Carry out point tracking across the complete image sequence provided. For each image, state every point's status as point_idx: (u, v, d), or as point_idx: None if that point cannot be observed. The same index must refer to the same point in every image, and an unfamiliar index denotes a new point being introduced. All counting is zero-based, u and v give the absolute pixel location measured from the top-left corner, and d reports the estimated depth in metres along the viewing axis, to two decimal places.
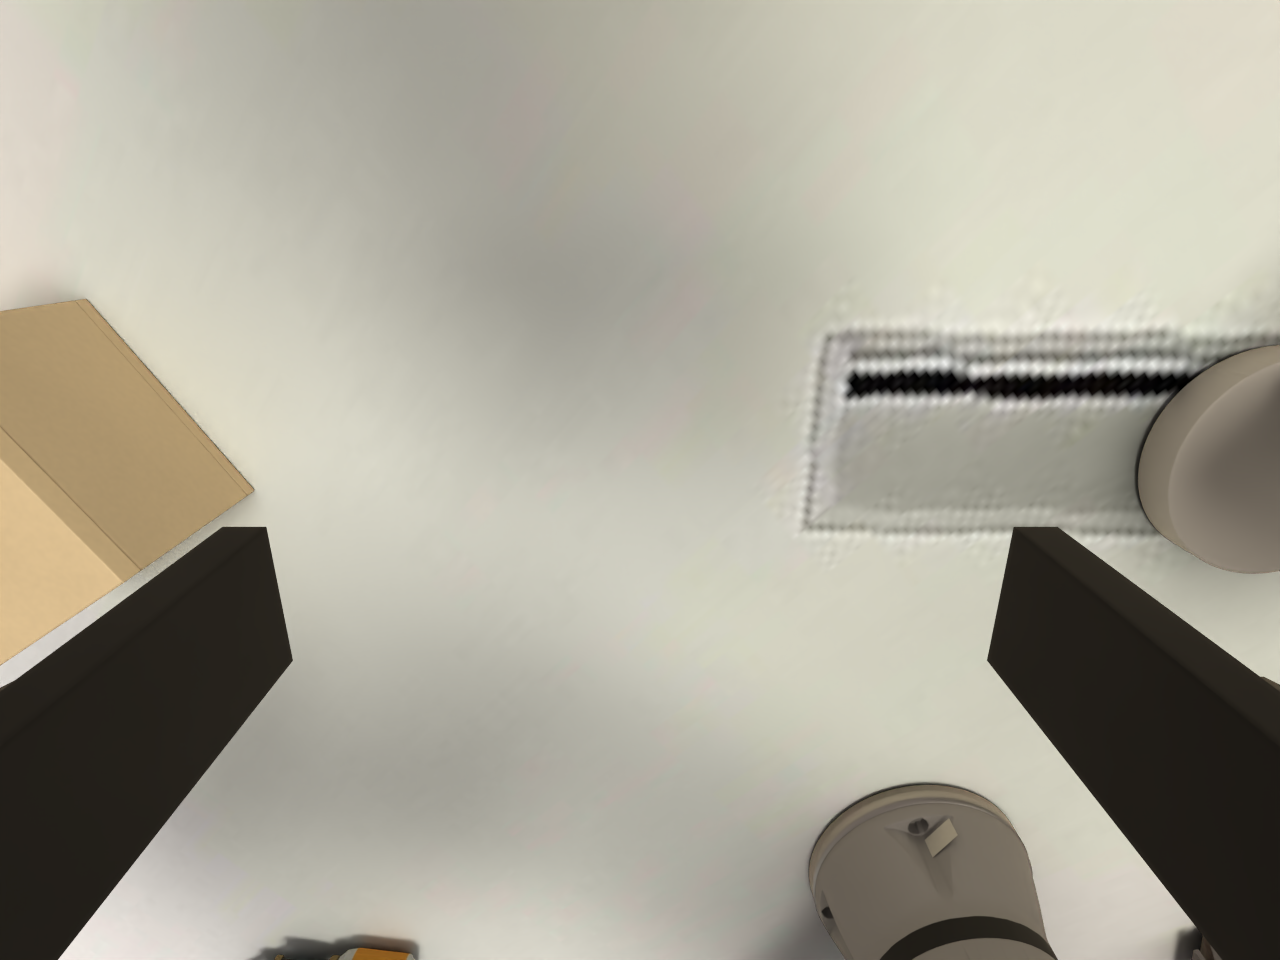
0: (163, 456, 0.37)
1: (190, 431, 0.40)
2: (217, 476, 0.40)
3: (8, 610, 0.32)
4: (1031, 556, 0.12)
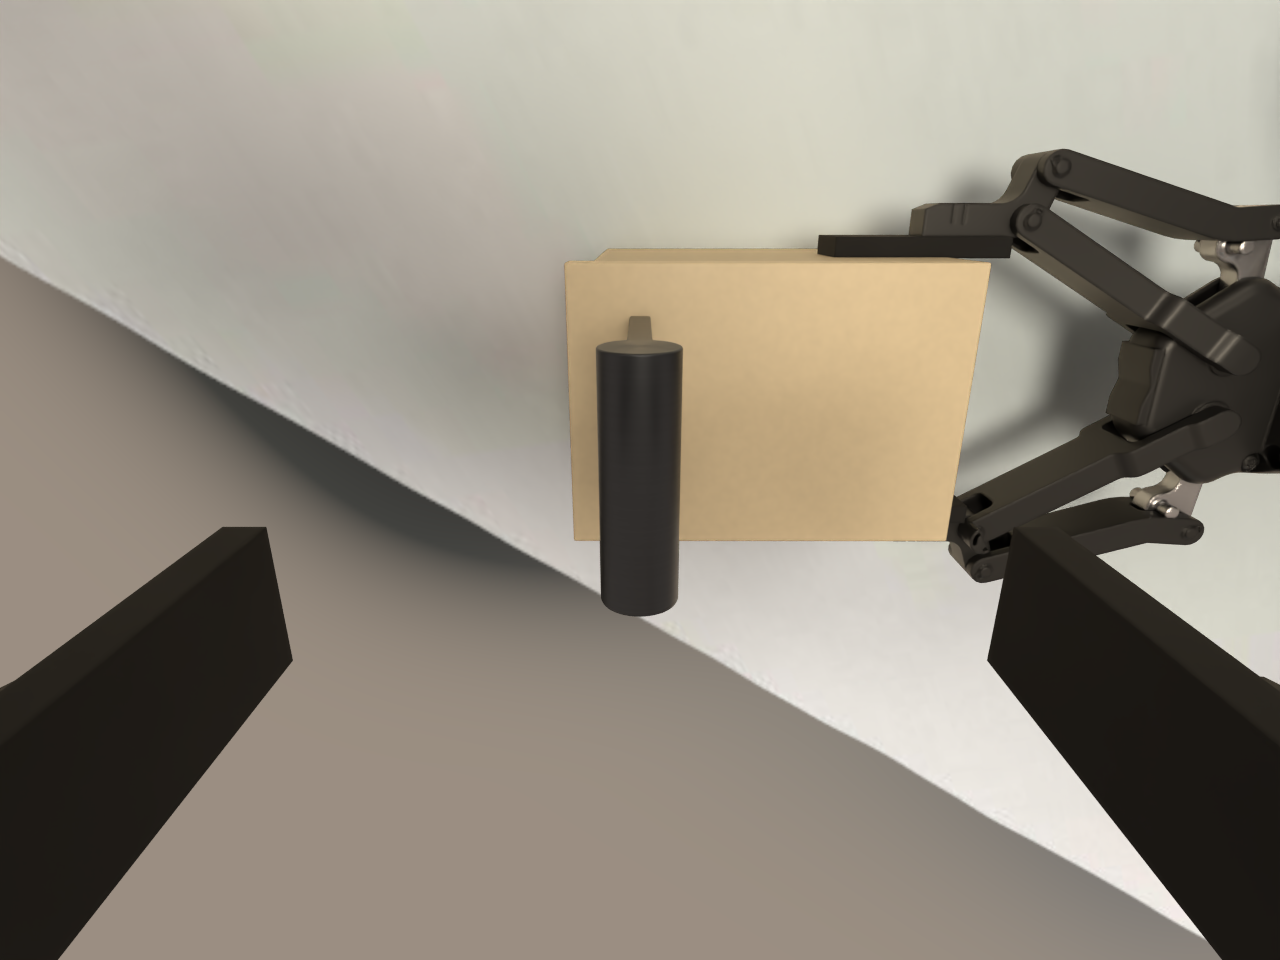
0: (816, 252, 0.30)
1: (788, 249, 0.33)
2: None
3: (915, 422, 0.25)
4: (1031, 556, 0.12)
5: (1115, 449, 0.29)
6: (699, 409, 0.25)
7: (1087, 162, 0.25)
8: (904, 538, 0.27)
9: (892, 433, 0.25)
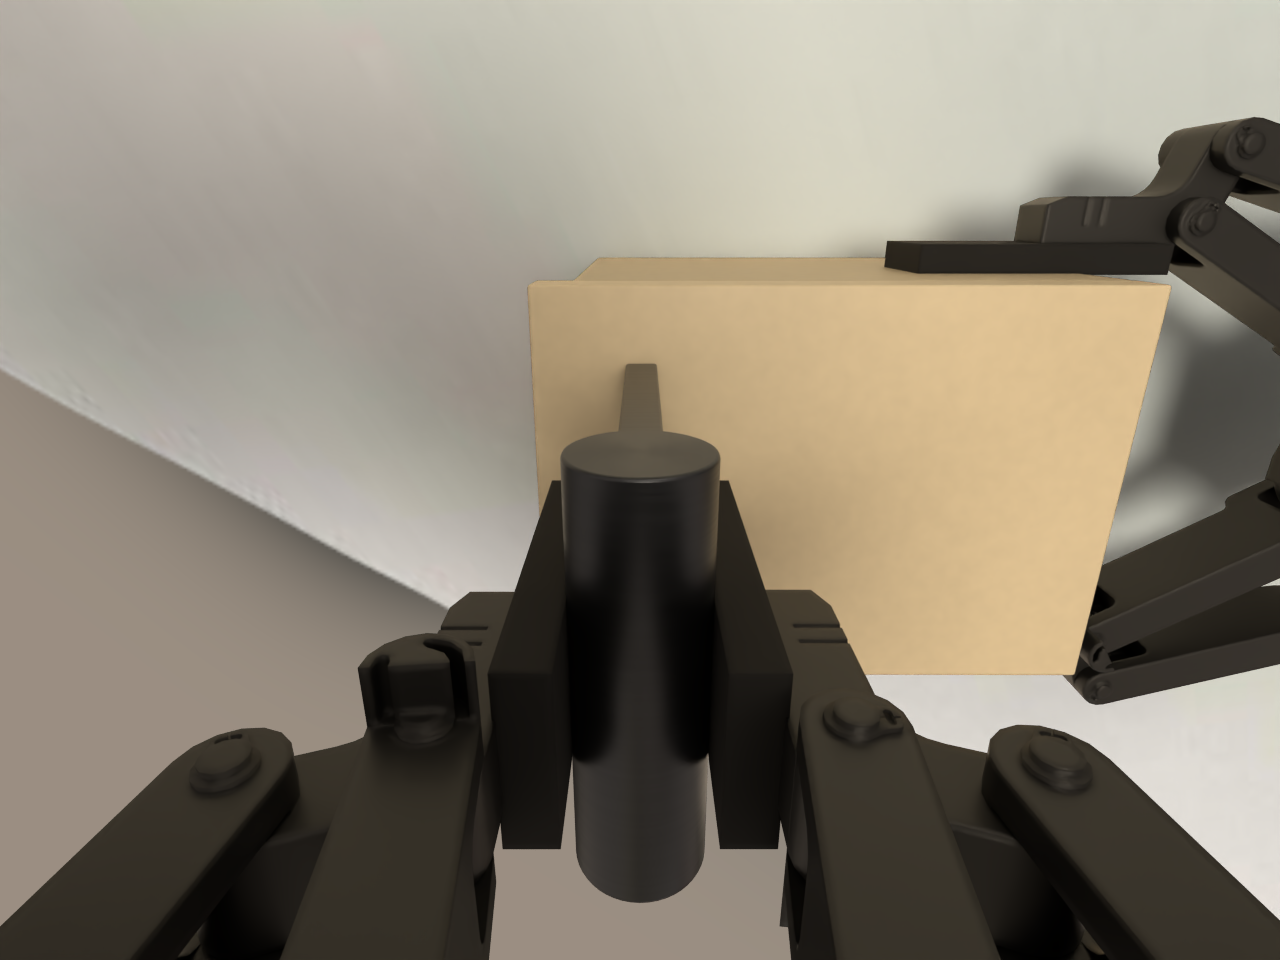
0: (878, 264, 0.22)
1: None
2: None
3: (1042, 515, 0.17)
4: None
5: None
6: None
7: None
8: (1016, 671, 0.19)
9: (1007, 530, 0.17)
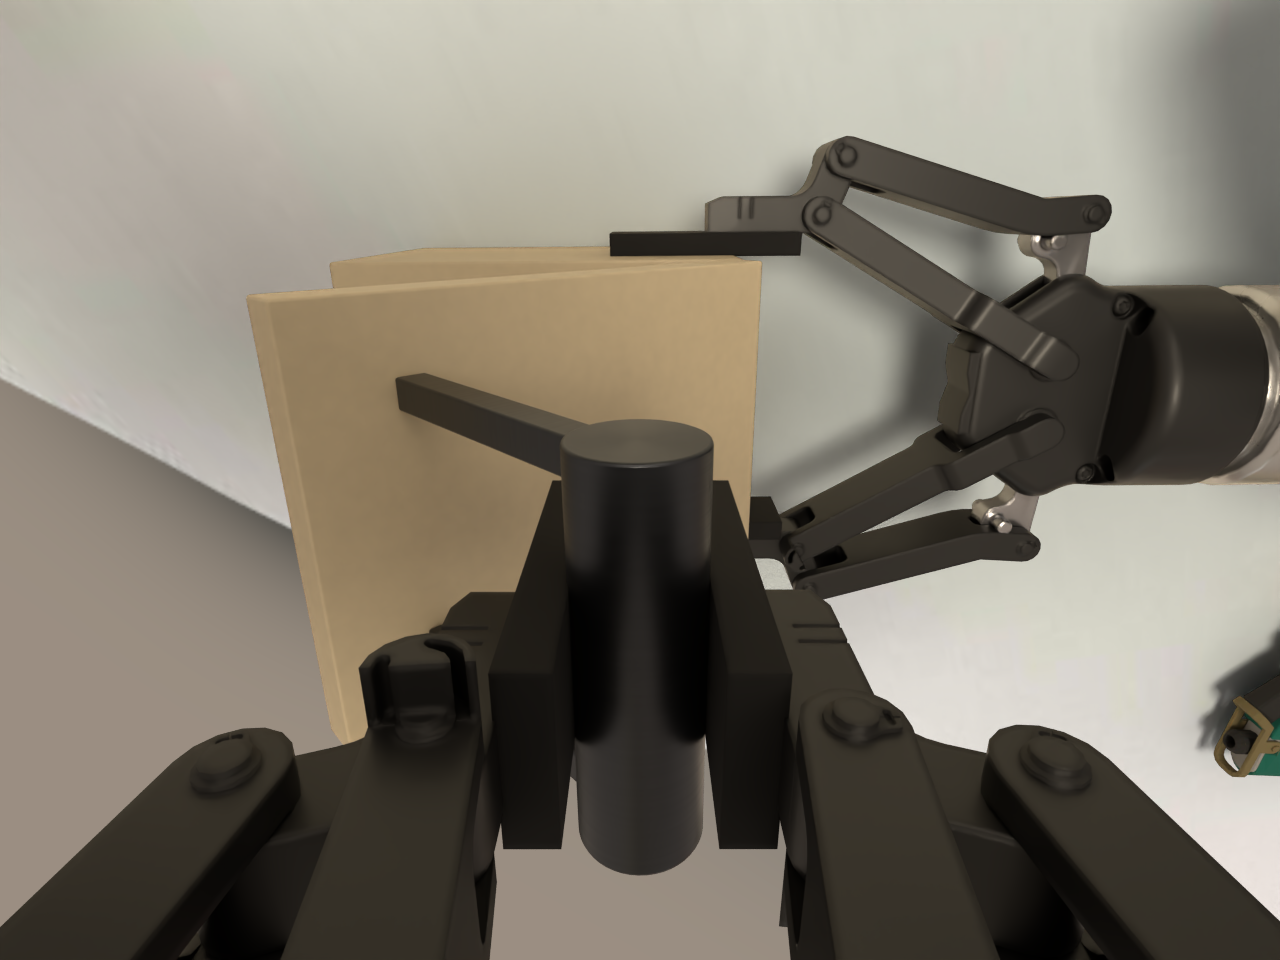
0: None
1: None
2: None
3: (718, 445, 0.22)
4: None
5: (938, 460, 0.27)
6: (507, 494, 0.17)
7: (875, 150, 0.23)
8: None
9: None
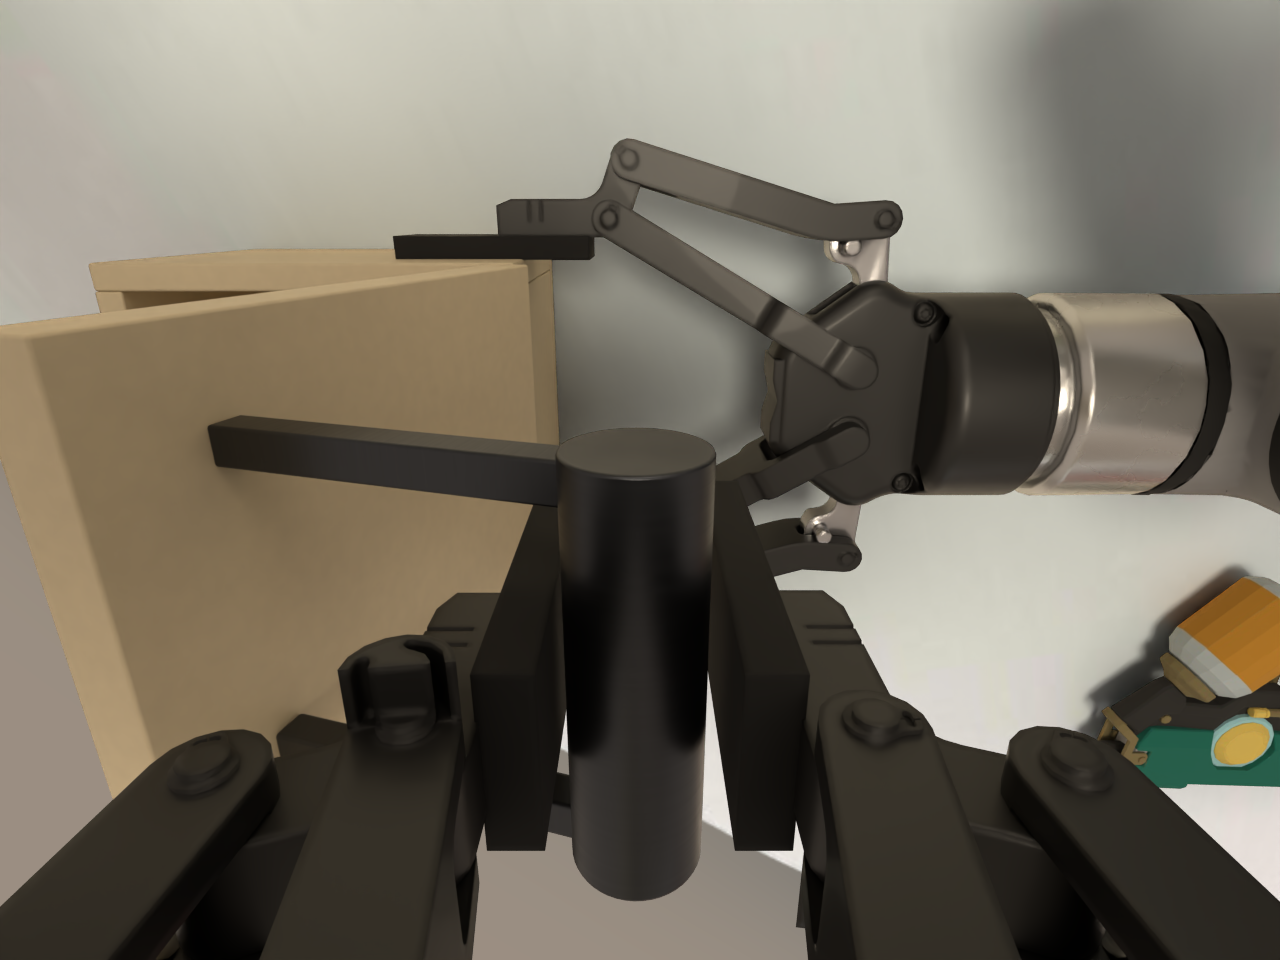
0: None
1: None
2: None
3: None
4: None
5: (751, 468, 0.27)
6: (340, 547, 0.14)
7: (657, 153, 0.23)
8: None
9: None
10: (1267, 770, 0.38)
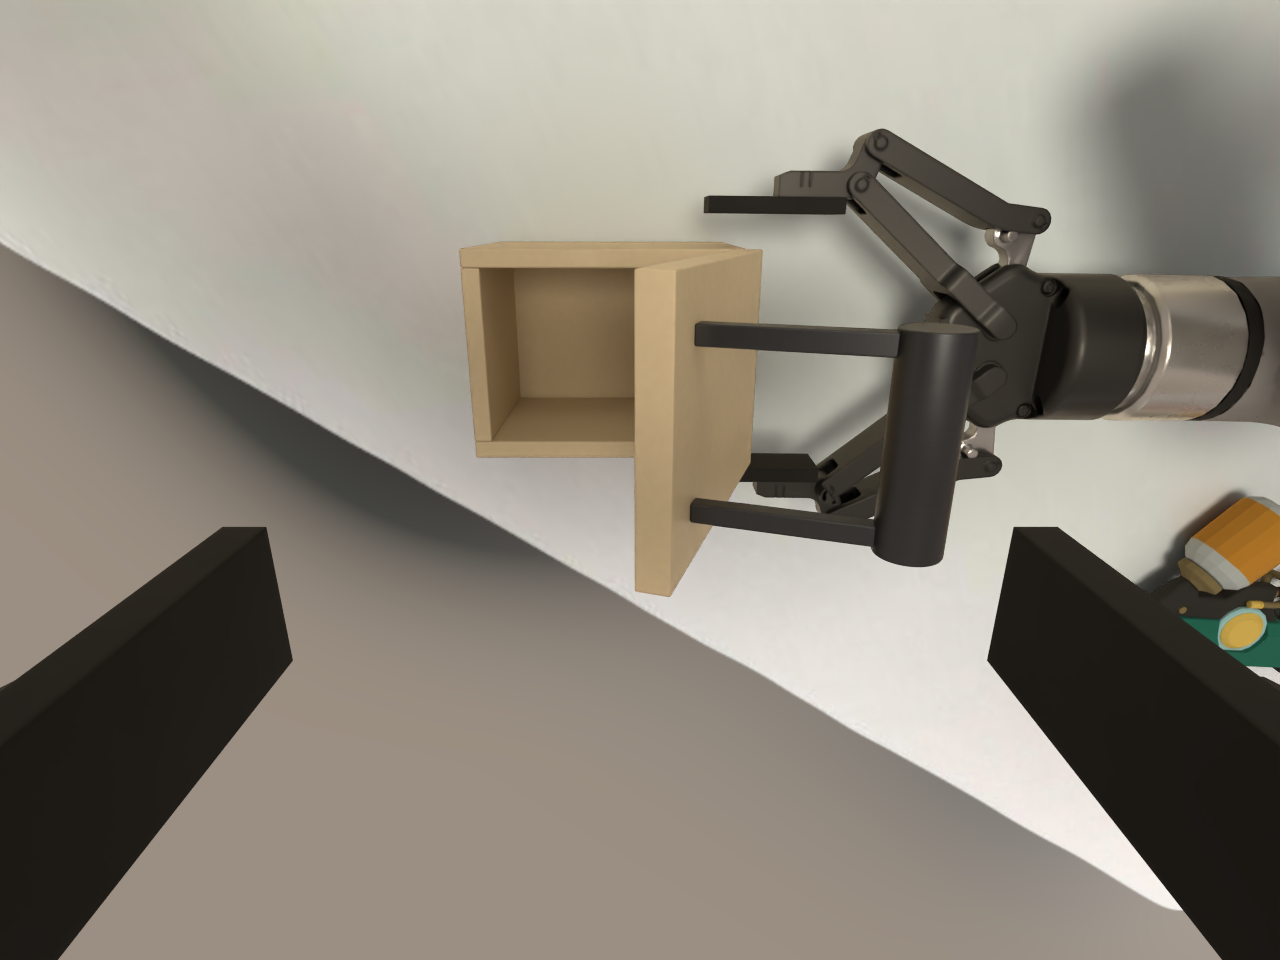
0: None
1: (644, 242, 0.41)
2: None
3: (748, 377, 0.32)
4: (1031, 556, 0.12)
5: None
6: (709, 407, 0.25)
7: (900, 143, 0.33)
8: (744, 471, 0.33)
9: (745, 390, 0.31)
10: (1262, 652, 0.49)
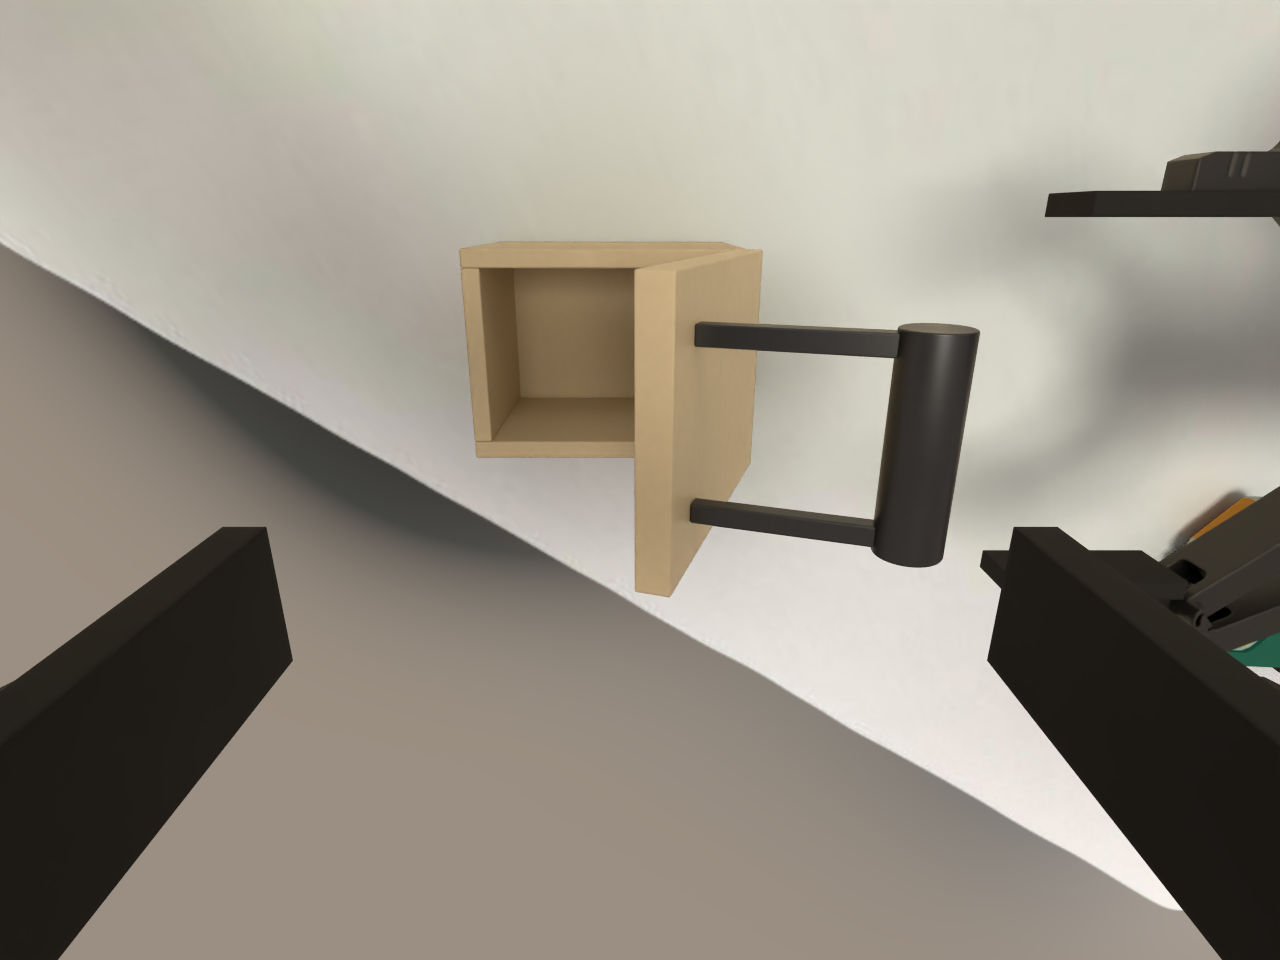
0: (655, 244, 0.38)
1: (644, 242, 0.41)
2: None
3: (748, 377, 0.32)
4: (1031, 556, 0.12)
5: None
6: (709, 408, 0.25)
7: None
8: (744, 471, 0.33)
9: (745, 390, 0.31)
10: (1262, 652, 0.49)
